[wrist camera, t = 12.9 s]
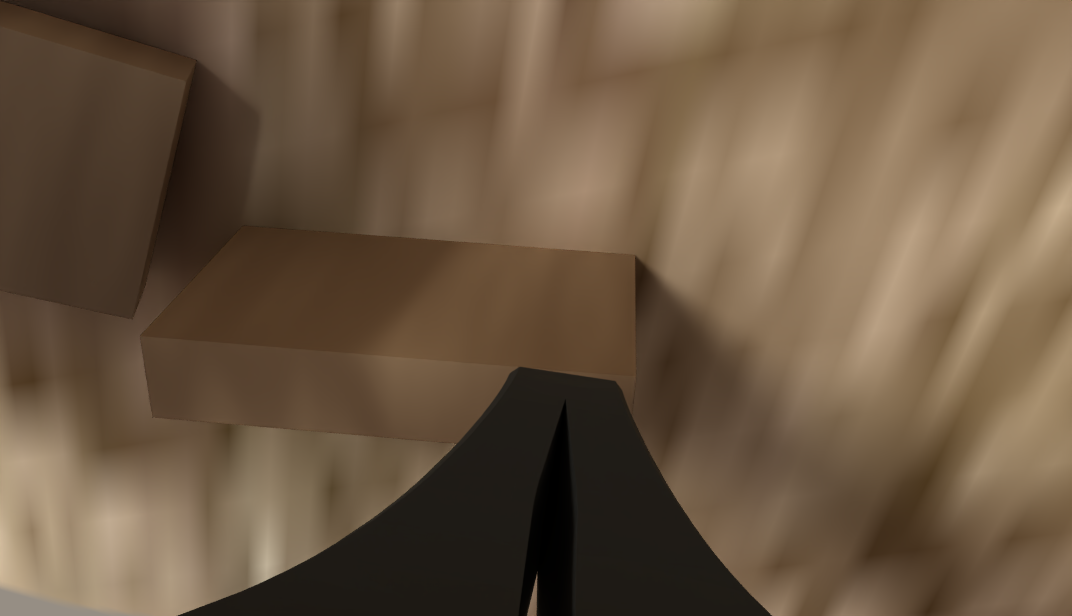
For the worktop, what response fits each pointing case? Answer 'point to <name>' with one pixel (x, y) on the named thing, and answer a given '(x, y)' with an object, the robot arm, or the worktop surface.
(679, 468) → the worktop surface
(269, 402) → the domino
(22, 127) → the domino
